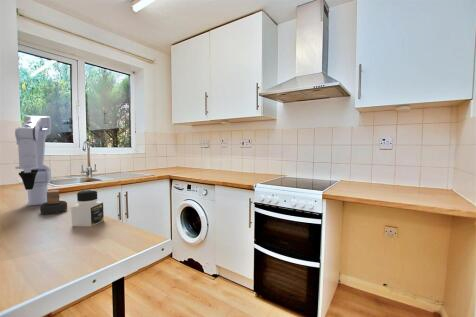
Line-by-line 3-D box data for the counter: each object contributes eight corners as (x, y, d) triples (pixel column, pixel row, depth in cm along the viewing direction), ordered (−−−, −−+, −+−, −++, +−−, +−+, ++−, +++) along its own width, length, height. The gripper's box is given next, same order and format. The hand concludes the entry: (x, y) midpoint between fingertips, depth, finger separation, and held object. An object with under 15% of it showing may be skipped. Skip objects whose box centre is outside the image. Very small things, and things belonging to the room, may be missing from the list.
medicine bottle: (91, 227, 80) (90, 192, 79) (71, 226, 80) (70, 192, 79) (104, 220, 87) (103, 188, 86) (85, 220, 87) (84, 188, 87)
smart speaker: (69, 212, 98) (68, 202, 98) (41, 216, 92) (41, 206, 91) (65, 208, 104) (65, 199, 104) (39, 212, 98) (39, 202, 98)
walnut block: (47, 202, 98) (46, 190, 98) (59, 201, 100) (58, 189, 100) (47, 204, 95) (46, 192, 94) (59, 203, 97) (59, 191, 97)
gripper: (16, 155, 100) (18, 186, 101) (12, 157, 89) (14, 192, 90) (38, 155, 105) (39, 184, 105) (37, 156, 93) (38, 189, 94)
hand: (29, 188), depth 98 cm, fingers open, 7 cm apart
